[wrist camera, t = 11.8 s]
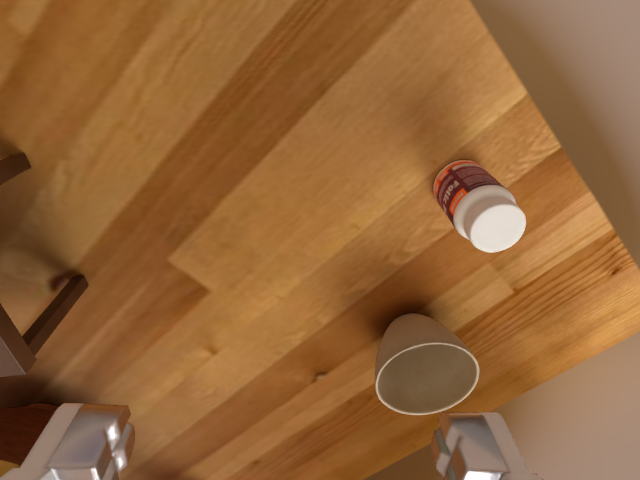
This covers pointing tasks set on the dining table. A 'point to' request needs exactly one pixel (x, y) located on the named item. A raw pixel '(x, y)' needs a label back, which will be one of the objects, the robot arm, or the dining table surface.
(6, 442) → the bowl
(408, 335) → the flower pot
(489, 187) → the pill bottle
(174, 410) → the dining table surface
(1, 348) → the toy table
